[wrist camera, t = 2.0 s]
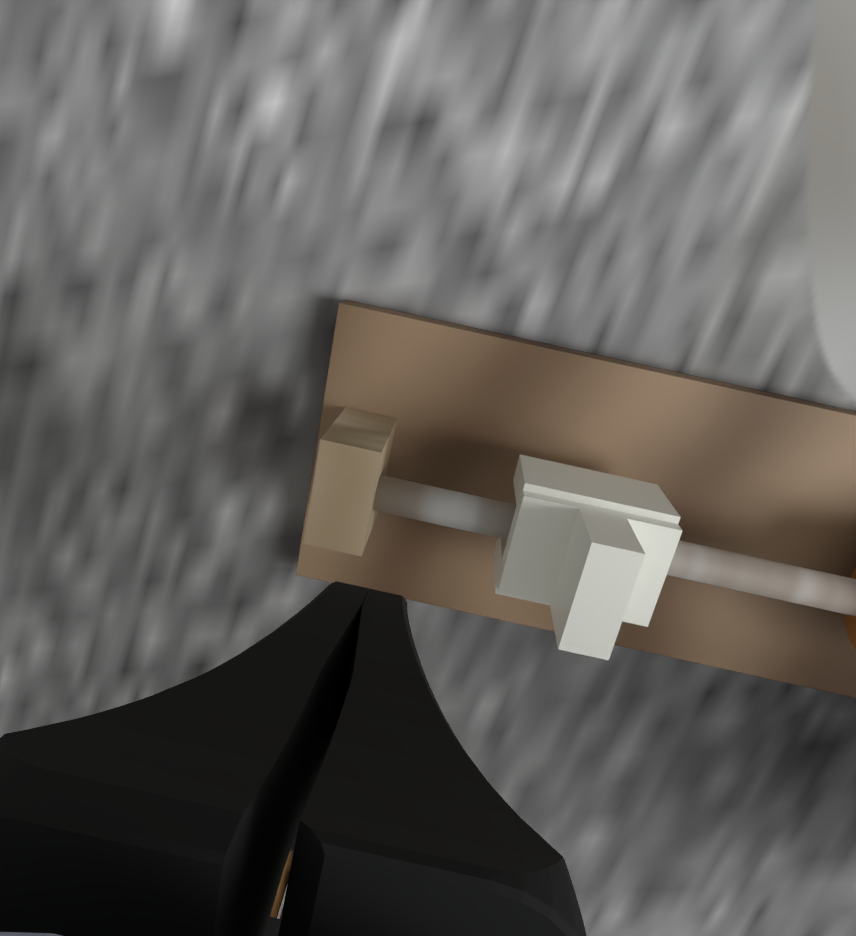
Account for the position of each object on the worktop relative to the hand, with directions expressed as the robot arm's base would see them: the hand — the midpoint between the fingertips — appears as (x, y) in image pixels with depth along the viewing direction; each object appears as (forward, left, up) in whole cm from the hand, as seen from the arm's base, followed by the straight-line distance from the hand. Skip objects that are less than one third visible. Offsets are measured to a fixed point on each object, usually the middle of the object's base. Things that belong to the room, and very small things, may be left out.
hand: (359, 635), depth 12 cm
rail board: (-9, 0, -10) cm, 14 cm away
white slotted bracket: (-5, 0, -8) cm, 10 cm away
